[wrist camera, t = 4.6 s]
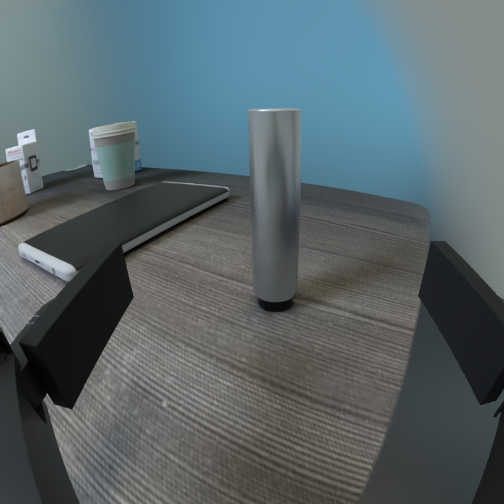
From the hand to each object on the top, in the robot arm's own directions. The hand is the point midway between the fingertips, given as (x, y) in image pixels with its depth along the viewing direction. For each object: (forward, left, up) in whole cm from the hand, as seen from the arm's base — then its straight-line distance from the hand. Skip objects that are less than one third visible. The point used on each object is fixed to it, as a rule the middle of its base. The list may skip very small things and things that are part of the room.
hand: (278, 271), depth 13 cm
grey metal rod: (+1, -8, -7) cm, 10 cm away
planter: (+51, -25, -7) cm, 57 cm away
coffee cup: (+33, -41, -7) cm, 53 cm away
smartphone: (+20, -22, -7) cm, 30 cm away
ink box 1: (+63, -43, -7) cm, 76 cm away
